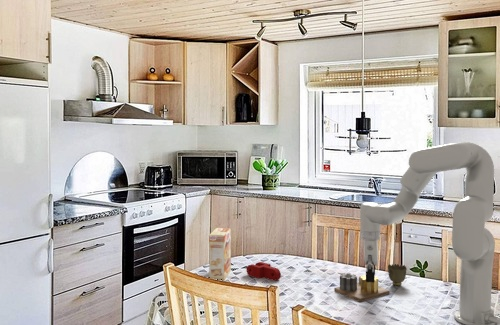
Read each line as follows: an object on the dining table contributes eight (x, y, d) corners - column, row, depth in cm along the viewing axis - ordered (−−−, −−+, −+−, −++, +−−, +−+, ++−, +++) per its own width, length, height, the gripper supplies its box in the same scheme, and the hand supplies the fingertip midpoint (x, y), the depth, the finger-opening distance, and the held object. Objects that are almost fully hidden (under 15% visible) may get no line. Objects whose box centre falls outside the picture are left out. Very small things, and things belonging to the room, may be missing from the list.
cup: (407, 288, 190) (407, 269, 189) (388, 287, 192) (388, 268, 191) (405, 282, 197) (405, 264, 197) (386, 281, 199) (387, 263, 198)
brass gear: (378, 288, 187) (378, 276, 187) (377, 294, 181) (378, 281, 181) (361, 286, 189) (361, 274, 189) (360, 292, 183) (360, 279, 183)
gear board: (389, 293, 185) (389, 275, 184) (359, 301, 176) (360, 282, 176) (363, 283, 197) (363, 266, 196) (334, 290, 188) (334, 273, 188)
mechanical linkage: (246, 275, 210) (246, 264, 209) (257, 271, 215) (257, 260, 214) (273, 283, 199) (273, 271, 198) (284, 279, 204) (284, 268, 203)
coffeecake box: (224, 280, 202) (224, 235, 200) (208, 279, 203) (208, 234, 202) (231, 270, 217) (231, 227, 215) (216, 269, 218) (216, 227, 216)
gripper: (380, 240, 174) (380, 285, 175) (380, 230, 191) (380, 272, 192) (359, 239, 176) (359, 284, 177) (361, 229, 193) (361, 271, 194)
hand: (370, 278), depth 185 cm, fingers open, 9 cm apart
